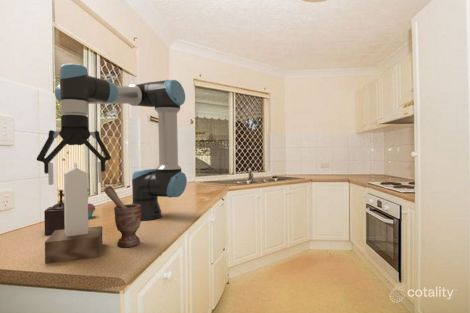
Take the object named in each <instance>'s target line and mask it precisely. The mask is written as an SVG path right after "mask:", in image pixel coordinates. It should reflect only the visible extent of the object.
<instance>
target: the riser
mask: <svg viewBox="0 0 470 313" xmlns="http://www.w3.org/2000/svg"><path fill="white" fill-rule="evenodd" d="M102 247H103V225H102V226H101V225H99V226H88V234H83V235H76V236H70V237H66V234H65V229H64V230H55V231H54V232H53V233H52V235H49V237H48V238H47V239H46V240H45V241H44V264H51V263H59V262H67V261H76V260H84V259H93V258H100V256H101V252H102Z"/></svg>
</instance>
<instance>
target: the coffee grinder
mask: <svg viewBox="0 0 470 313" xmlns="http://www.w3.org/2000/svg"><path fill="white" fill-rule="evenodd" d="M89 190H90V189H88V192H89ZM58 192H59V194H58V195H59V202H58V203H56V204H54V205H52V206H49V207H47V208H46V209H45V210H44V212H43V213H44V219H43V220H44V236H51V235H52V233H53V232H54V231H55V230H64V229H65V217H64V202H63V197H64V193H63V192H64V189H63V190H62V189H59V191H58Z"/></svg>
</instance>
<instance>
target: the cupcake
mask: <svg viewBox="0 0 470 313" xmlns="http://www.w3.org/2000/svg"><path fill="white" fill-rule="evenodd" d="M95 211H96V205H94V204H92V203H88V220H89V219H92V218H93V215H94V212H95Z"/></svg>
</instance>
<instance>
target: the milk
mask: <svg viewBox="0 0 470 313" xmlns="http://www.w3.org/2000/svg"><path fill="white" fill-rule="evenodd" d="M73 164H74V167H72V168H70V169H69V170H67V171H65V172H63V192H64V193H63V194H64V196H63V201H64V202H63V203H64V217H65V234H66V237H70V236H76V235H83V234H88V227H89V219H88V204H89V191H88V190H89V188H88V187H89V186H88V185H89V183H88V182H89V180H88V178H89V176H88V173H87V172H86V171H83V170H82V169H80V168H78V164H77V162H74V163H73Z"/></svg>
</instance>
